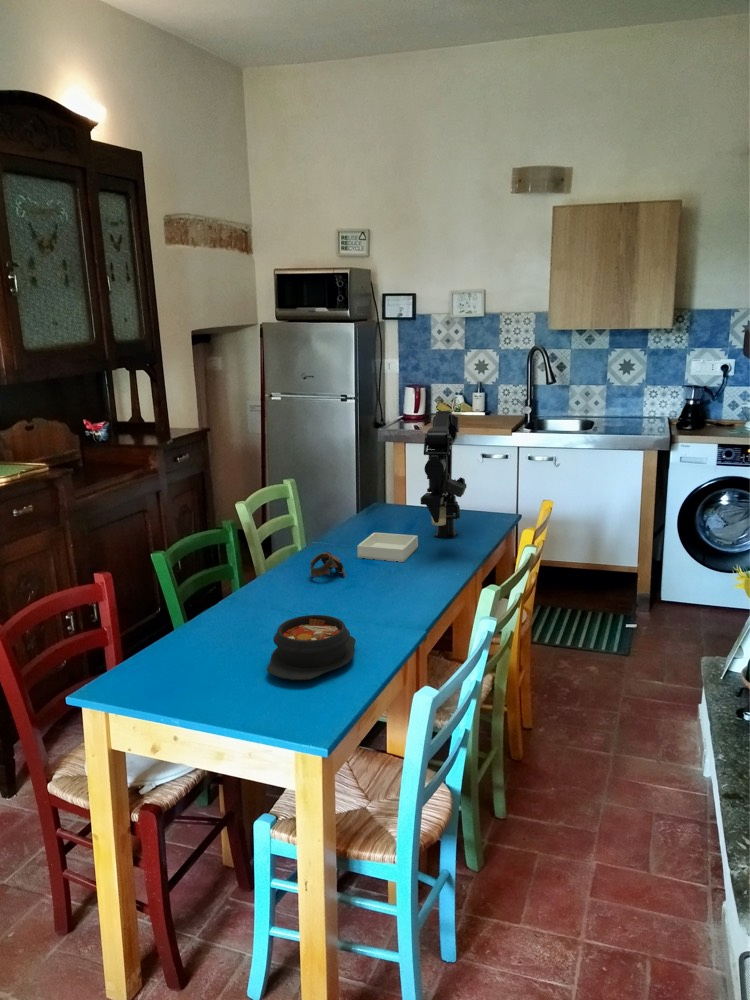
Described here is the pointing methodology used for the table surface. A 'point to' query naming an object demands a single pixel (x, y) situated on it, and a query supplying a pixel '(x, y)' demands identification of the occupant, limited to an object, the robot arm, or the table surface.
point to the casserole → (310, 647)
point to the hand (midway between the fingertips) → (438, 520)
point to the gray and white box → (387, 547)
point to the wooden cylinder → (441, 517)
